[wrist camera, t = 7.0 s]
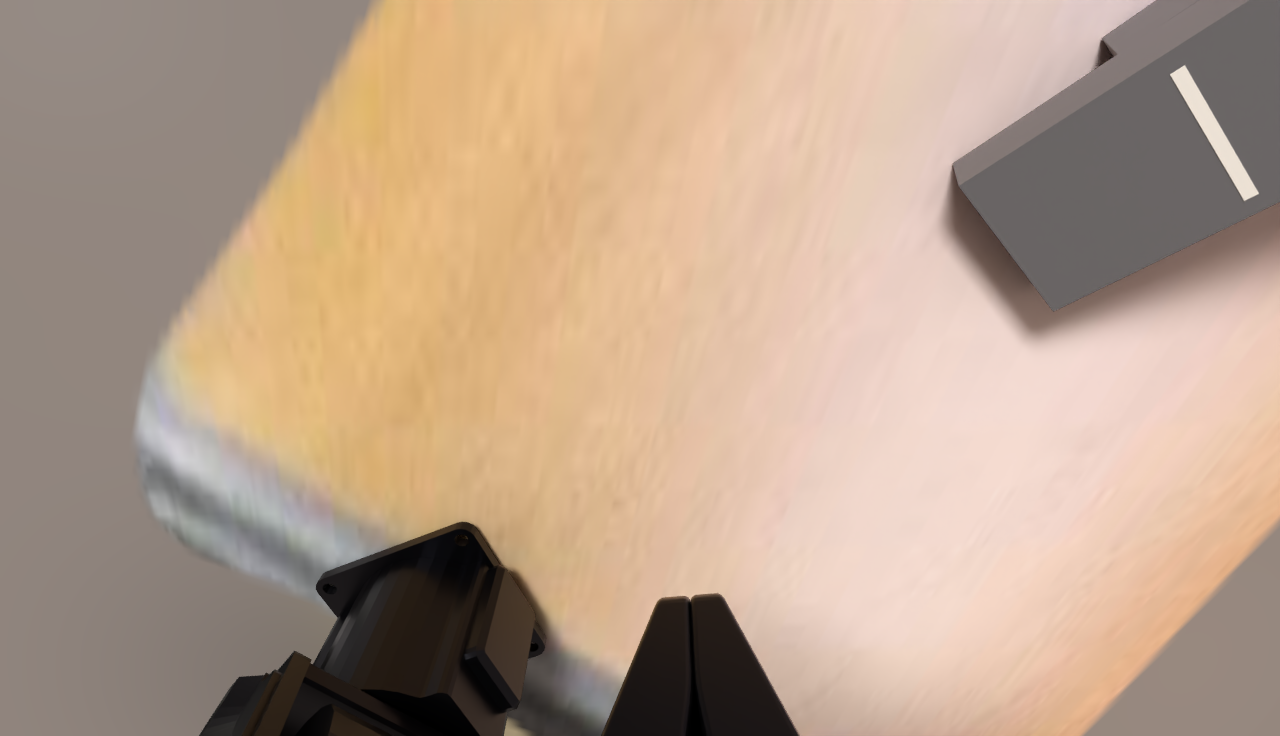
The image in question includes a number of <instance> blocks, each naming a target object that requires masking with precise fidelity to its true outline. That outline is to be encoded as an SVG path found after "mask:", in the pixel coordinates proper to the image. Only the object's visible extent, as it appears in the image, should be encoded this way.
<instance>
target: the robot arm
mask: <svg viewBox="0 0 1280 736" xmlns="http://www.w3.org/2000/svg"><path fill="white" fill-rule="evenodd" d="M461 534H462V535H466V536H467V537H468V539H462V538H460V537H459V536H458V535H461ZM329 583H330V584H333V585H334V586H336V587H333V586H331V585H329ZM316 590H317V592H318V594H319V595H320V596H321V597H322V599H323V600H324V601H325V602H326V604H327V605H328V606H329V607H330V609H331V610H332V611H333V612H334V614H335V615H336V616H337V617H338V619H337V621H336V622H335V624H334V626H333V628H332V630H331V632H330V634H329V635H328V637H327V639H326V641H325V643H324V645H323V647H322V649H321V651H320V652H319V654H318V656H317V658H316V660H315V662H314V663H313V664H311V663H310V662H311V659H309V658H308V657H306V656H303V655H302V654H300V653H298V652H296V651H294V652H293V653H292V654H291V655H290V657H289V658H288V659H287V660H286V661H285V662H284V664H283V665H282V666H281V667H280V668H279V669H278V670H274V671H272V672H271V673H270V674H268V673H265V675H262V676H247V677H239V678H238V679H237V680H236V681H235V683H234V684H233V685H232V686H231V687H230V689H229V690H228V692H227V693H226V694H225V696H224V698H223V699H222V701H221V702H220V704H219V705H218V707H217V708H216V710H215V712H214V713H213V714H212V716H211V718H210V719H209V721H208V722H207V724H206V725H205V727H204V728H203V730H202V732H201V733H200V735H199V736H504V730H505V725H506V720H507V715H508V711H511V710H514V709H517V707H518V705H519V702H520V700H521V695H522V690H523V684H524V678H525V673H526V667H527V661H528V659H529V658H532V657H535V656H538V655H540V654H542V652H543V651H544V649H545V643H546V637H545V634H544V633H543V631H542V630H541V628H540V626H539V625H538V623H537V622H536V620H535V612H534V611H533V609H532V608H531V606H530V605H529V603H528V601H527V600H526V598H525V597H524V595H523V594H522V592H521V590H520V589H519V587H518V586H517V584H516V583H515V581H514V580H513V578H512V576H511V575H510V573H509V572H508V570H507V569H506V568H505V567H503V566H501V565H500V564H499V563H498V561H497V560H496V558H495V556H494V555H493V553H492V552H491V550H490V549H489V547H488V546H487V544H486V542H485V541H484V539H483V538H482V536H481V535H480V533H479V532H478V530H477V529H476V527H475V526H474V525H472V524H470V523H467V522H459V523H456V524H453V525H450V526H448V527H445V528H442V529H440V530H437V531H434V532H432V533H429V534H426V535H424V536H421V537H418V538H415V539H413V540H410V541H407V542H405V543H402V544H399V545H397V546H394V547H391V548H389V549H386V550H383V551H381V552H378V553H375V554H373V555H370V556H367V557H365V558H362V559H359V560H356V561H354V562H351V563H348V564H346V565H343V566H340V567H338V568H335V569H332V570H330V571H327V572H325V573H324V574H322V576H321V578H320V579H319V581H318V583H317V584H316ZM531 642H535V644H532V643H531ZM601 736H800V735H799V734H798V732H797V730H796V728H795V726H794V724H793V723H792V721H791V719H790V717H789V715H788V714H787V712H786V710H785V708H784V706H783V704H782V703H781V701H780V699H779V697H778V695H777V694H776V692H775V690H774V688H773V686H772V684H771V683H770V681H769V679H768V677H767V675H766V673H765V672H764V670H763V668H762V666H761V664H760V663H759V661H758V659H757V657H756V655H755V653H754V652H753V650H752V648H751V646H750V644H749V643H748V641H747V639H746V637H745V635H744V633H743V632H742V630H741V628H740V626H739V624H738V622H737V621H736V619H735V617H734V615H733V613H732V612H731V610H730V608H729V606H728V604H727V602H726V601H725V599H724V597H723V596H722V595H720V594H718V593H714V594H702V595H695V596H693V597H692V598H691V602H690V599H689V598H688V597H686V596H677V597H665V598H661V599H660V600H659V601H658V602H657V603H656V605H655V608H654V610H653V612H652V615H651V617H650V620H649V622H648V624H647V627H646V629H645V632H644V634H643V636H642V639H641V641H640V644H639V646H638V648H637V651H636V653H635V656H634V658H633V660H632V663H631V665H630V668H629V670H628V672H627V675H626V677H625V680H624V682H623V684H622V687H621V689H620V692H619V694H618V697H617V699H616V701H615V704H614V706H613V709H612V711H611V713H610V716H609V718H608V721H607V723H606V725H605V728H604V730H603V733H602V735H601Z"/></svg>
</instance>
